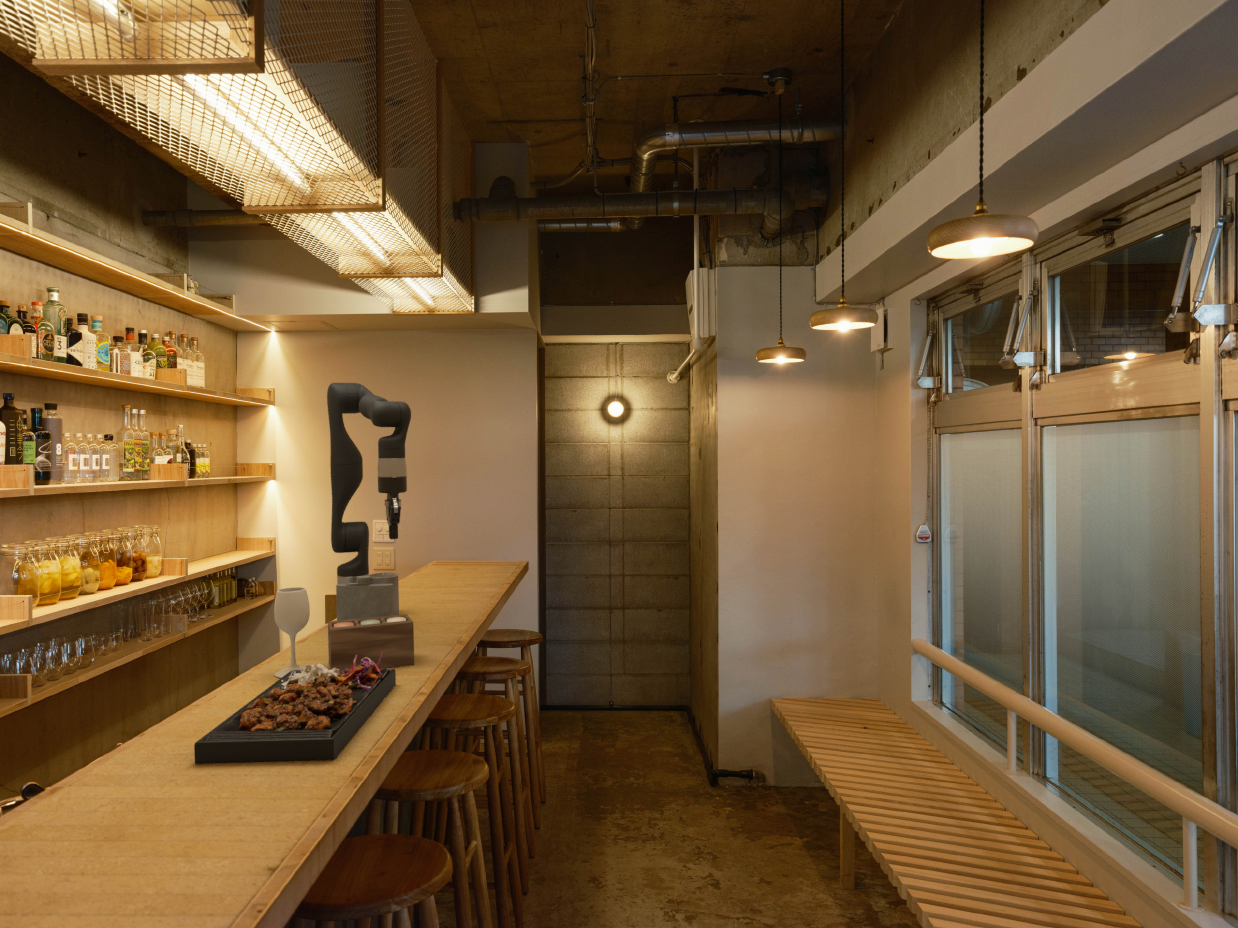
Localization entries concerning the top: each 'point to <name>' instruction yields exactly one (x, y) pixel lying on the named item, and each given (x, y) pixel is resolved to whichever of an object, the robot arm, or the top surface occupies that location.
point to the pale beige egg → (396, 619)
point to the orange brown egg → (343, 624)
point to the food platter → (300, 716)
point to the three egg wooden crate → (371, 642)
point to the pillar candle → (388, 579)
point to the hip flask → (364, 599)
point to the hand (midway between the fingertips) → (393, 538)
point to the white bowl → (291, 618)
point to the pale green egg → (370, 622)
